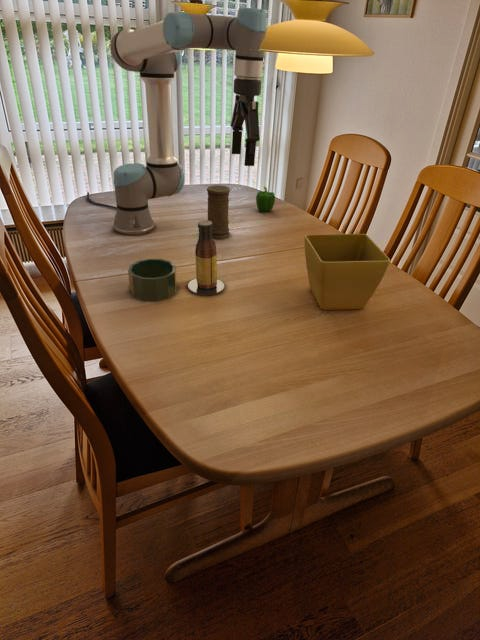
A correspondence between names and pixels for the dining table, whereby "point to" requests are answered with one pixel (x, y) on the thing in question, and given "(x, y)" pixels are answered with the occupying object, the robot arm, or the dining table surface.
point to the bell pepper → (265, 200)
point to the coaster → (197, 290)
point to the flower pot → (343, 269)
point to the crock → (152, 279)
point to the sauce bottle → (206, 257)
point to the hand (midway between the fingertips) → (242, 159)
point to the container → (218, 210)
